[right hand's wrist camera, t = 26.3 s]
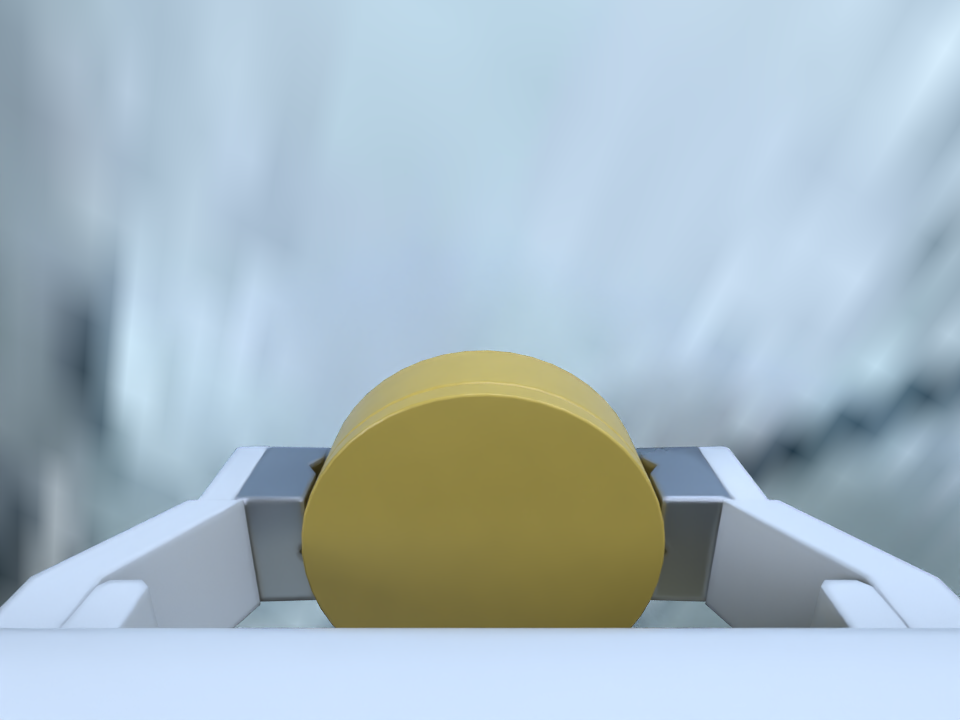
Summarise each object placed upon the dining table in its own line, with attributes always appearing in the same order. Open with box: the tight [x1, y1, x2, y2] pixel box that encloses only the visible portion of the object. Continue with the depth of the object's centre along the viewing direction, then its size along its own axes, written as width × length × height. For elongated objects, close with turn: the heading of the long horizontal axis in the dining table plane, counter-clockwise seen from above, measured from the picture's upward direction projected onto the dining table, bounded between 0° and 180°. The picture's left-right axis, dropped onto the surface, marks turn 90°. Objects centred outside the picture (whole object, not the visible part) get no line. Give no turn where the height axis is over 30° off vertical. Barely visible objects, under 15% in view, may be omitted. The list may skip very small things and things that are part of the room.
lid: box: [301, 350, 665, 628], centre depth 9 cm, size 5×5×2 cm
